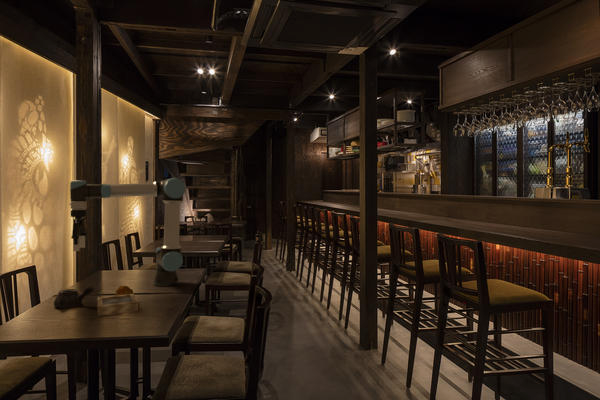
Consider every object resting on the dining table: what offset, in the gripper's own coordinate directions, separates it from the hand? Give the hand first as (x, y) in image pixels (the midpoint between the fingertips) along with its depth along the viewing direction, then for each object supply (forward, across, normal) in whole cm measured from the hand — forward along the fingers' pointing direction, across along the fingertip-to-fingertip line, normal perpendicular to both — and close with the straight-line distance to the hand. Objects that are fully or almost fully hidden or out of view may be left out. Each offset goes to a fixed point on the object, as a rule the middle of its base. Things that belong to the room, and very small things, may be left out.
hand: (79, 249), depth 219 cm
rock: (+27, +11, +23) cm, 37 cm away
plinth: (+26, +28, +22) cm, 44 cm away
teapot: (+27, +16, 0) cm, 31 cm away
